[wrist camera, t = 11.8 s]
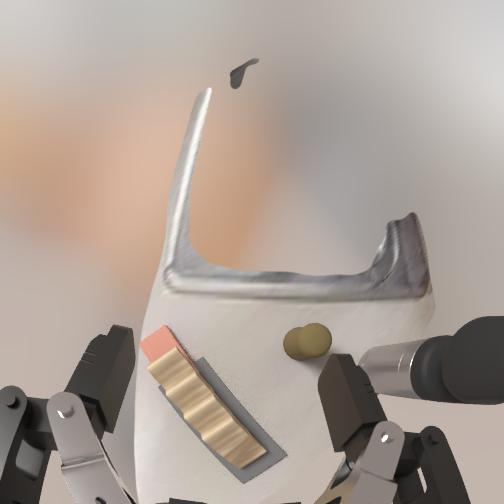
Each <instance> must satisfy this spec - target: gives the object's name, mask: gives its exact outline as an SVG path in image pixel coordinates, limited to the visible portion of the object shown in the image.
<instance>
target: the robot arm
mask: <svg viewBox="0 0 504 504" xmlns="http://www.w3.org/2000/svg"><path fill="white" fill-rule="evenodd" d="M134 366H135V348H134V338H133V330H132V329H131V328H128V327H123V326H119V325H113V326H112V327H111V329H110V331H109V333H108V335H107V336H106V335H102V334H100V335H98V336H97V337H96V338H94V339H93V340H92V341H91V342H90V343H89V345H88V347H87V349H86V351H85V353H84V354H83V356H82V358H81V361H80V362H79V364H78V365H77V367H76V369H75V371H74V373H73V375H72V377H71V379H70V381H69V383H68V385H67V387H66V389H65V390H64V391H63V392H60V393H57V394H55V395H53V396H52V397H51V398H50V399H40V398H31V397H27V396H26V395H25V393H24V392H23V391H22V390H21V389H20V388H19V387H16V386H7V387H4V388H3V389H1V390H0V504H39V500H40V495H41V490H42V486H43V481H44V477H45V473H46V469H47V465H48V461H49V458H50V454H51V451H52V450H56V451H59V454H60V457H61V459H62V465H61V470H62V473H63V476H64V479H65V481H66V483H67V486H68V488H69V490H70V493H71V495H72V496H73V499H74V501H75V503H76V504H137V503H136V501H135V499H134V498H133V497H132V495H131V493H130V492H129V490H128V488H127V487H126V485H125V484H124V482H123V481H122V479H121V477H120V475H119V474H118V472H117V470H116V468H115V466H114V464H113V462H112V461H111V459H110V457H109V455H108V453H107V450H106V449H105V446H104V444H103V442H102V437H103V434H104V431H106V432H109V433H113V431H114V428H115V425H116V421H117V418H118V415H119V411H120V408H121V405H122V402H123V399H124V396H125V393H126V390H127V387H128V384H129V381H130V378H131V375H132V373H133V369H134ZM318 392H319V395H320V399H321V403H322V406H323V410H324V414H325V418H326V421H327V425H328V429H329V433H330V436H331V440H332V444H333V448H334V451H335V452H342V451H345V454H346V456H345V457H344V458H343V460H342V462H341V464H340V465H339V467H338V469H337V471H336V473H335V475H334V477H333V478H332V480H331V482H330V483H329V485H328V487H327V489H326V490H325V492H324V493H323V494H322V495H321V496H320V497H319V498H318V499H317V501H316V502H315V503H314V504H391V503H392V502H393V504H471V503H470V500H469V497H468V494H467V491H466V488H465V485H464V482H463V480H462V477H461V474H460V471H459V469H458V466H457V464H456V461H455V459H454V456H453V454H452V451H451V449H450V447H449V444H448V442H447V439H446V437H445V435H444V433H443V432H442V431H441V430H440V429H439V428H437V427H435V426H428V427H426V428H424V429H423V430H422V431H421V432H420V433H411V432H403V430H402V429H401V427H400V426H398V425H397V424H396V423H394V422H391V421H388V420H387V418H386V415H385V413H384V411H383V408H382V406H381V404H380V402H379V399H378V397H377V395H376V393H380V394H386V395H391V396H399V397H405V398H412V399H422V400H430V401H437V402H448V403H463V404H483V405H496V404H501V403H504V316H487V317H480V318H477V319H474V320H472V321H470V322H468V323H467V324H465V325H464V326H463V327H462V328H460V329H459V330H458V331H457V332H456V333H455V335H454V336H448V335H445V336H437V337H433V338H428V339H422V340H417V341H412V342H406V343H400V344H394V345H387V346H380V347H375V348H372V349H370V350H369V351H367V352H366V353H365V354H364V356H363V357H362V359H361V361H360V363H359V366H356V365H355V363H354V360H353V358H352V356H351V355H350V354H332V355H331V356H330V357H329V359H328V361H327V363H326V365H325V367H324V369H323V371H322V373H321V375H320V377H319V380H318ZM420 467H421V469H422V472H423V475H424V478H425V481H426V485H427V490H426V492H425V493H424V490H423V487H422V483H421V480H420V477H419V474H418V471H417V469H419V468H420ZM157 504H206V503H203V502H194V501H187V500H180V499H173V498H170V499H169V502H168V503H157ZM284 504H301V502H296V503H284Z"/></svg>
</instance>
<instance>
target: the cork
mask: <svg viewBox="0 0 504 504" xmlns="http://www.w3.org/2000/svg"><path fill="white" fill-rule="evenodd" d="M331 344H332V337H331V333H330V331H329V330H328V328H326V327H325V326H324V325H321V324H319V323H312V324H308V325H306V326H305V327H303V328H302V327H298V328H294V329H292V330H290V331H289V332H288V333H287V334H286V336H285V338H284V342H283V346H284V350H285V352H286V354H287V355H288V356H289V357H291V358H292V359H295V360H303V359H306V358H308V357H311V358H317V357H320V356H323V355H324V354H325V353H327V351H328V350H329V349H330V346H331Z"/></svg>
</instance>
